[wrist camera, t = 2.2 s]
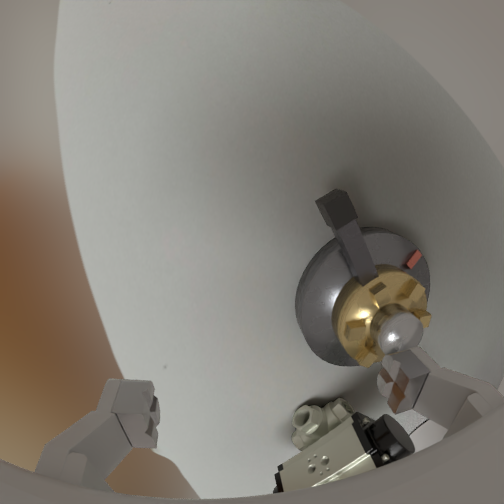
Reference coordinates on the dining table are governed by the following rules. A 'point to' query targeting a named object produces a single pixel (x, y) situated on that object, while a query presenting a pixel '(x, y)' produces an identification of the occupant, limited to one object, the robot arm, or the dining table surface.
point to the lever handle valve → (365, 284)
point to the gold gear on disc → (333, 280)
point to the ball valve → (339, 445)
